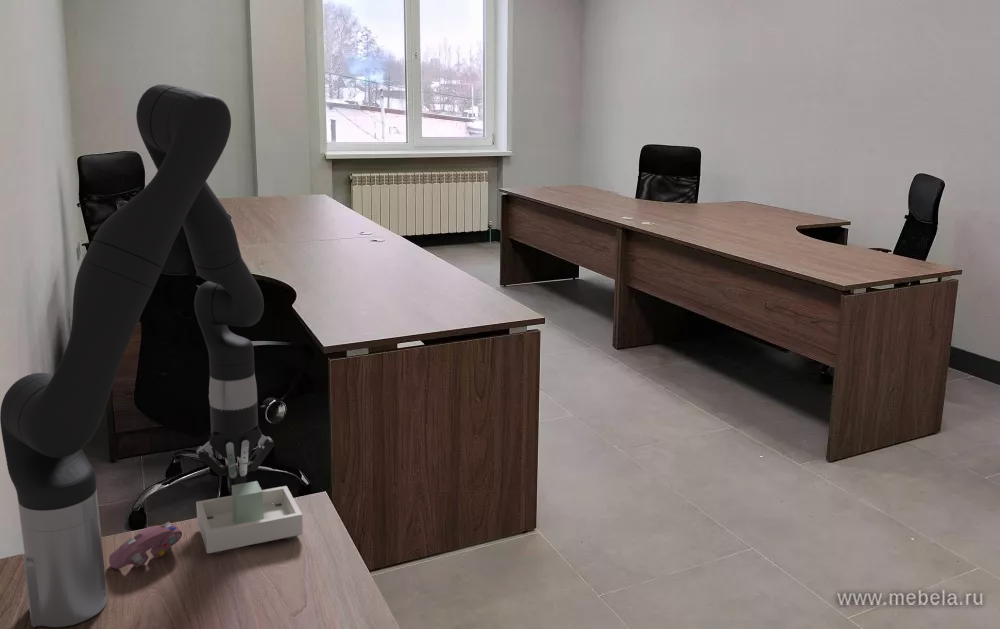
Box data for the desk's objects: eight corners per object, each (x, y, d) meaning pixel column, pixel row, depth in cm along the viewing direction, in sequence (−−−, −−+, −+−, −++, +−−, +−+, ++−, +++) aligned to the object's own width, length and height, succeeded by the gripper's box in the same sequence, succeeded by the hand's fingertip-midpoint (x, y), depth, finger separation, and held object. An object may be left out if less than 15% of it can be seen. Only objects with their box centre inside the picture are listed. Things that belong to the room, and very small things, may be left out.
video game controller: (120, 585, 122) (129, 555, 118) (104, 563, 124) (112, 532, 120) (180, 557, 130) (190, 527, 126) (164, 536, 131) (173, 507, 128)
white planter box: (207, 560, 126) (206, 533, 125) (197, 527, 135) (196, 501, 134) (302, 540, 133) (302, 514, 131) (287, 510, 142) (286, 485, 141)
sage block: (238, 530, 131) (236, 496, 129) (233, 519, 134) (231, 485, 132) (263, 525, 133) (262, 491, 131) (258, 514, 136) (257, 480, 134)
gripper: (194, 413, 131) (200, 511, 135) (279, 402, 137) (281, 497, 141) (188, 397, 137) (193, 491, 142) (269, 387, 143) (272, 478, 148)
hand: (237, 494), depth 141 cm, fingers closed
